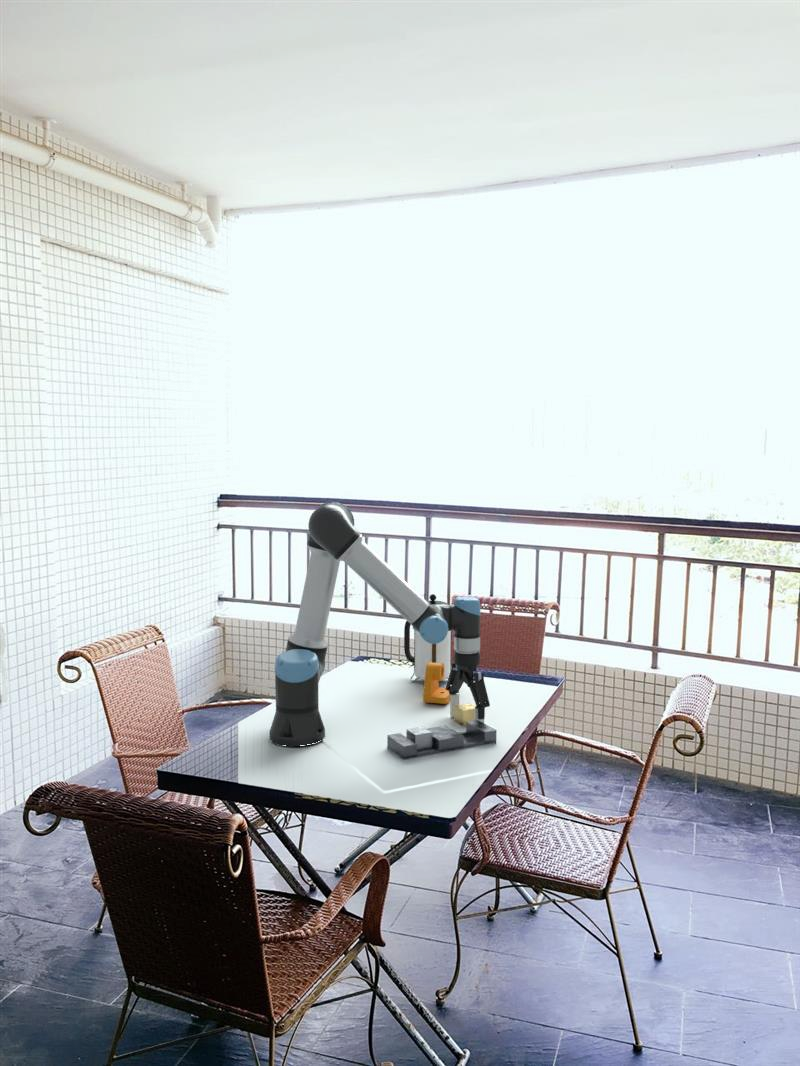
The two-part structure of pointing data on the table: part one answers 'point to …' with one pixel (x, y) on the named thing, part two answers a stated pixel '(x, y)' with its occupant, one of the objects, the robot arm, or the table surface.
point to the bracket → (435, 684)
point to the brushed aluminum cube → (420, 738)
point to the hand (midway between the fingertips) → (466, 722)
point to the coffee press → (428, 649)
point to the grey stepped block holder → (444, 740)
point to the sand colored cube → (464, 713)
